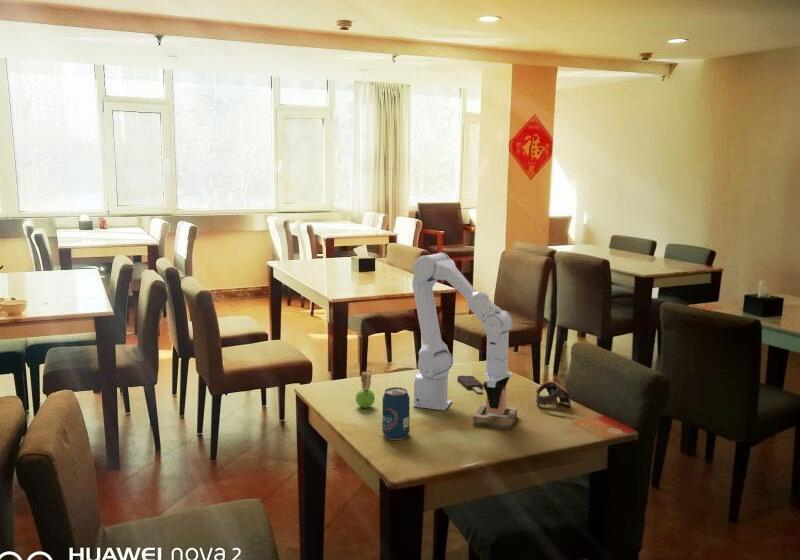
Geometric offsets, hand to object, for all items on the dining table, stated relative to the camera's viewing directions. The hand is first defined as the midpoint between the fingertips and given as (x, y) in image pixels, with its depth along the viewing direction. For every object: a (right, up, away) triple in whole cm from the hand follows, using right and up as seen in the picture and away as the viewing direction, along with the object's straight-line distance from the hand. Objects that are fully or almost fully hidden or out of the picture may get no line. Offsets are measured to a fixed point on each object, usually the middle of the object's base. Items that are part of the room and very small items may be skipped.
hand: (495, 405), depth 183 cm
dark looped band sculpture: (+19, -3, +13) cm, 23 cm away
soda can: (-27, -6, -10) cm, 29 cm away
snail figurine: (-36, -3, +10) cm, 37 cm away
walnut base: (0, -4, +1) cm, 4 cm away
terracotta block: (0, -2, 0) cm, 2 cm away
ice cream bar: (-3, 0, +30) cm, 30 cm away
